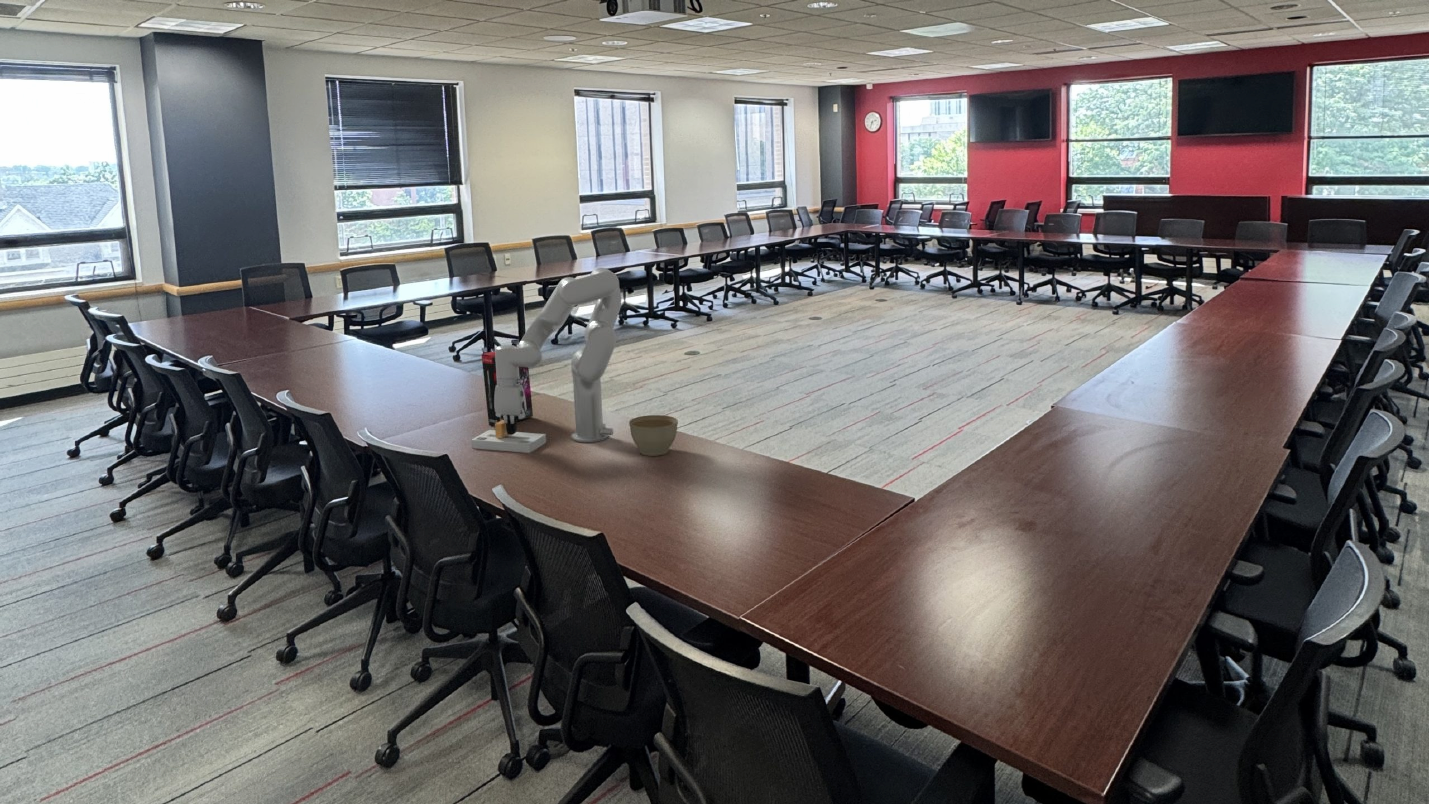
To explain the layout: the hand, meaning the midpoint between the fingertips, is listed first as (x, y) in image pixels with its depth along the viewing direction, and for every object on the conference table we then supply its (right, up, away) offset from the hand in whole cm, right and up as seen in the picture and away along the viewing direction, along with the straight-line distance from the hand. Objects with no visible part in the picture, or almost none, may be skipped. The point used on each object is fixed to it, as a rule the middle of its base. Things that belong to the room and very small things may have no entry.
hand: (511, 433), depth 315 cm
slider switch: (-1, -4, +2) cm, 4 cm away
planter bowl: (+50, -6, -8) cm, 51 cm away
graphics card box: (-7, +3, +31) cm, 32 cm away
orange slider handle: (-3, -3, +2) cm, 5 cm away
